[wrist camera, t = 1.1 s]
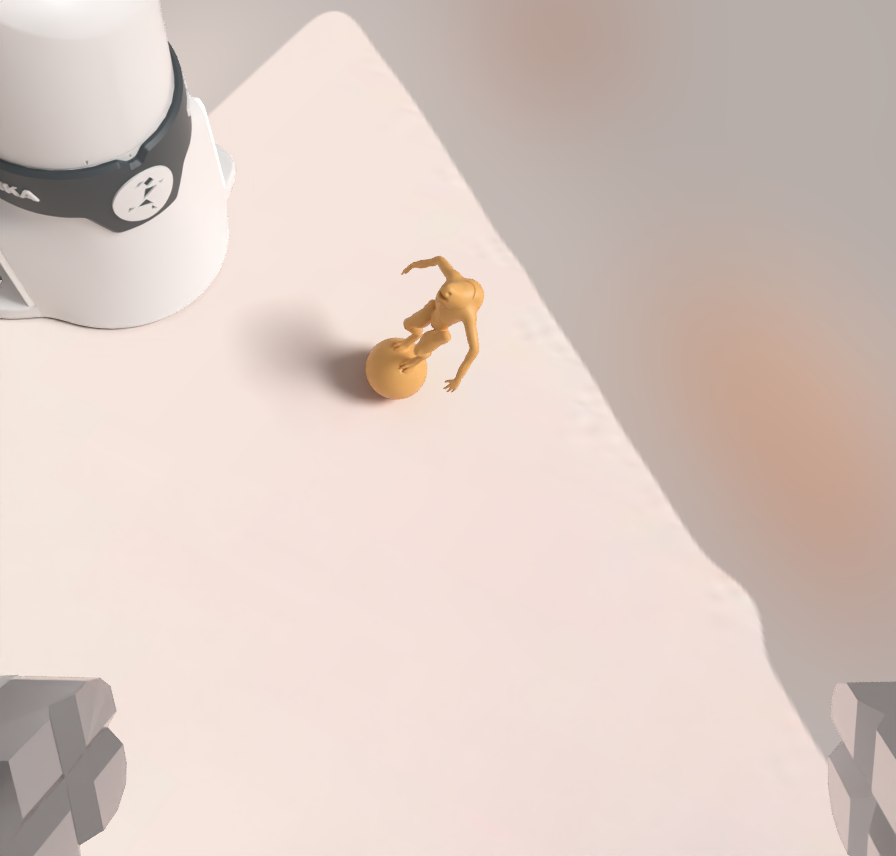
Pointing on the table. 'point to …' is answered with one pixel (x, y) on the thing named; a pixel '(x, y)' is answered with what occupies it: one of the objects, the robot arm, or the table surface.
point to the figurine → (427, 336)
